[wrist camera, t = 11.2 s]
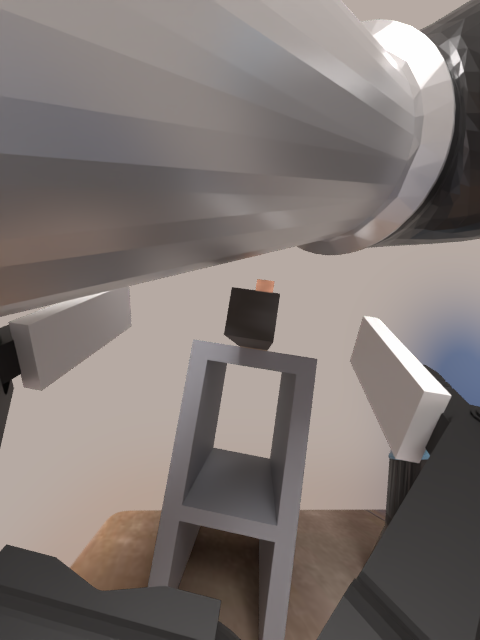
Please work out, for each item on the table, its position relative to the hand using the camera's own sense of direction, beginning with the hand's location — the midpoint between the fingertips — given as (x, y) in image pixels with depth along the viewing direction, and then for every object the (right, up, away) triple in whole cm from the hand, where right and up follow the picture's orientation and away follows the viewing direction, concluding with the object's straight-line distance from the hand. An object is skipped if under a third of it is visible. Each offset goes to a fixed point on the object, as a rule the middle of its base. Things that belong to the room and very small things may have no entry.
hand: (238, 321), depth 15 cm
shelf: (-2, -34, +20) cm, 39 cm away
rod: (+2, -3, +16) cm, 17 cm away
